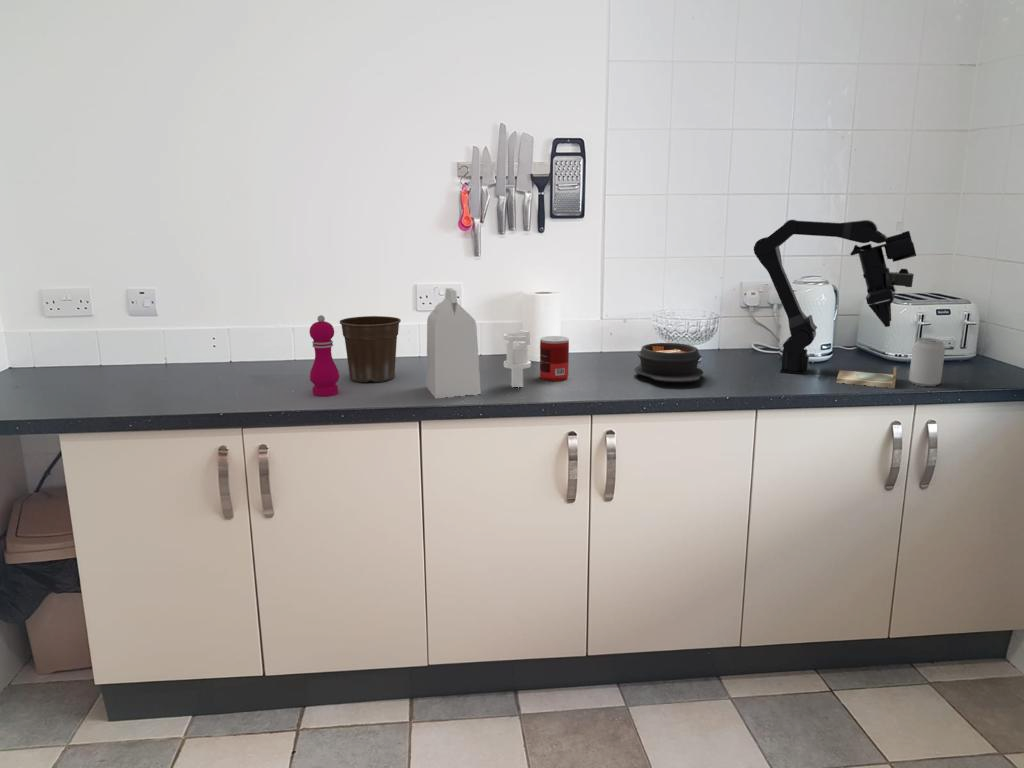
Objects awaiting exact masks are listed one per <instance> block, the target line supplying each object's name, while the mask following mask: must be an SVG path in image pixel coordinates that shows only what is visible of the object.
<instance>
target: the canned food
mask: <svg viewBox="0 0 1024 768" xmlns="http://www.w3.org/2000/svg"><path fill="white" fill-rule="evenodd" d="M569 350H570V340H569V338H568V337H566V336H561V335H549V336H542V337H540V341H539V375H540V379H541V380H542V381H547V382H561V381H566V380H567V379H568V377H569V364H570V363H569V361H570V359H569V357H570V355H569V354H570V351H569ZM565 379H566V380H565Z"/></svg>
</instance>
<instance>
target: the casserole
mask: <svg viewBox="0 0 1024 768" xmlns="http://www.w3.org/2000/svg"><path fill="white" fill-rule="evenodd" d="M637 356H638V358H639V359H640V363H639V365H637V366H635V368H634V372H635V373H636V374H638V375H640V376H643V377H646V378H647V379H650V380H654V381H658V382H664V383H690V382H691V383H692V382H697V381H699V380H700V379H701V376H702V375H703V374H704V371H703V369H702V368H699V367H698V365H699V361H700V360H701V358H702V355H701V354H700V352H699V349H698V347H696V346H693V345H690V344H685V343H677V342H655V343H649V344H644V345H642V347H641V348H640V350H639V352H638V353H637Z"/></svg>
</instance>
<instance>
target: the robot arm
mask: <svg viewBox="0 0 1024 768" xmlns="http://www.w3.org/2000/svg"><path fill="white" fill-rule="evenodd" d="M793 235H799V236H814V237H817V236H818V237H832V238H833V237H835V238H839V239H844V240H848V241H852V242H855V243H859V244H860V243H861V244H864V245H860V246H858V244H854V246H853V249H852V251H851V252H850V254H849V255H850V256H854V255H858V256H859V257H858V258H859V261H860V265H861V269H862V272H863V275H862V276H863V279H864V281H865V286H866V293H867V294H866V296H865V300H866V304H867V305H868V307H869V308H870V309H871V310H872V312H873V313H874V314H875V315H876V317H877V318H878V319H879V321H880V322H881V324H882V325H883V326H884V327H885V328H889V327H891V322H892V303H893V301H894V300H895V295H896V287H895V286H899V287H905V288H912V287H913V283H914V282H913V281H914V273H911V272H910V273H909V270H908V268H900V270H899V271H898V272H897V271H895V272H894V271H893V272H892V271H891V272H890V268H889V267H888V266H887V263H886V260H885V255H884V251H885V254H886V259H887V260H892V262H893V263H894V262H899V261H902V260H905V259H910V258H914V257H917V252H916V249H915V245H914V244H915V243H914V242H913V239H912V235H911V233H910V231H909V230H907V231H903V232H902V233H898V234H894V235H891V236H886V234H885V233H884V234H883V233H882V232H880V231H879V230H878V227H877V224H876V223H875V222H874V221H872V220H870V219H862V220H856V221H846V222H832V221H831V222H828V221H827V222H825V221H812V220H811V221H809V220H808V221H807V220H796V219H787V220H786V221H785V223H783V225H782V226H780V227H779V228H778V229H776V230H775V231H774V232H772V233H771V234H770V235H768V236H765V237H763V238H760V239H757V241H756V242H755V243H754V246H753V252H754V255H755V256H756V258H757V259H758V261H759V262H760V264H761V265H762V266H763V267H764V269H765V270H766V271H767V272H768V274H769V277H770V280H771V283H772V284H773V286H774V289H775V291H776V292H777V293H776V294H777V295H778V298H779V300H780V303H781V305H782V307H783V310H784V311H785V314H786V316H787V319H788V327H789V332H790V333H789V334H790V336H789V337H788V338H787V339H786V340H785V341H784V342H783V344H782V356H781V367H780V370H779V372H780V373H787V374H788V373H789V374H799V375H800V374H801V375H805V374H806V372H807V371H809V362H810V361H809V360H810V356H809V355H808V349H806V347H808V346H810V345H811V344H812V343H813V341H814V340H815V338H816V336H817V332H816V330H817V329H818V326H817V325H816V324H815V323H814V320H813V316H812V314H810V315H808V316H807V315H806V314H805V313H804V312H803V311H802V308H801V306H800V304H799V303H800V302H799V301H798V299H797V296H796V294H795V292H794V290H793V287H792V285H791V282H790V281H789V278H788V276H787V275H788V274H786V271H785V268H784V267H783V262H782V255H781V254H782V253H781V250H780V249H781V248H780V246H782V245H783V244H784V243H785V242H786V241H787V240H789V239H790V238H792V236H793ZM870 242H872V243H875V244H880V245H876V246H875V245H874V246H872V243H870ZM866 243H867V244H866ZM868 243H869V244H868ZM883 248H884V251H883Z"/></svg>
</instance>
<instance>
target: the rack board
mask: <svg viewBox="0 0 1024 768" xmlns="http://www.w3.org/2000/svg"><path fill="white" fill-rule="evenodd" d="M892 371H893V373H892V374H889V373H888V374H887V373H877V372H876V373H875V372H865V371H855V370H854V371H852V370H844V369H843V370H842V369H839V370H838V374H837V377H836V381H835V383H836V384H842V383H845V384H844V385H853V384H855V386H864V385H866V386H865V387H867V386H868V387H874V386H876V387H877V388H885V387H888V389H895V387H896V382H897V381H896V378H897V367H893V370H892ZM876 387H875V388H876Z"/></svg>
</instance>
